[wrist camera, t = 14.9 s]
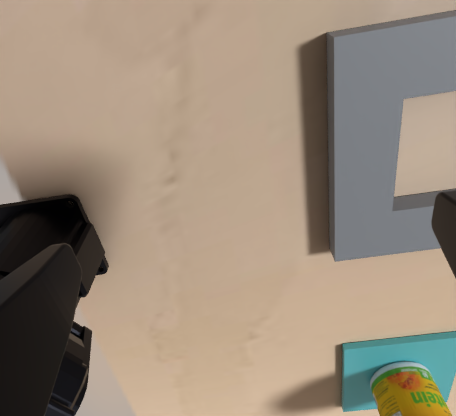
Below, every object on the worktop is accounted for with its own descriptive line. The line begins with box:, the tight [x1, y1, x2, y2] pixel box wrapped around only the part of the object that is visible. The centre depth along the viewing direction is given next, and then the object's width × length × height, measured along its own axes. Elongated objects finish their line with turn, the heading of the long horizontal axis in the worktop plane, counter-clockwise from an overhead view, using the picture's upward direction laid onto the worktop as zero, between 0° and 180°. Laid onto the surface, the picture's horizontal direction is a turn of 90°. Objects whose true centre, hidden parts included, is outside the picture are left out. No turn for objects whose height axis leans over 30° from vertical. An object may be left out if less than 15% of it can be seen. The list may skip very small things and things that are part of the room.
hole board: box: [327, 10, 456, 261], centre depth 21 cm, size 14×14×2 cm
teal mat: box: [342, 331, 456, 412], centre depth 34 cm, size 10×10×1 cm
